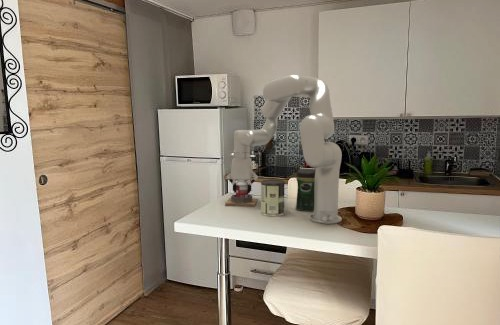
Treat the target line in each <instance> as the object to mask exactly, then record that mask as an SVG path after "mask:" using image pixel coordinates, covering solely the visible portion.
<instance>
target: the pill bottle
mask: <svg viewBox="0 0 500 325" xmlns="http://www.w3.org/2000/svg"><path fill="white" fill-rule="evenodd" d="M235 183H236V193H235V194H236V197H237V198H245V197H248V194H249V193H248V185H249V183H248V180H236V182H235Z"/></svg>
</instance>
